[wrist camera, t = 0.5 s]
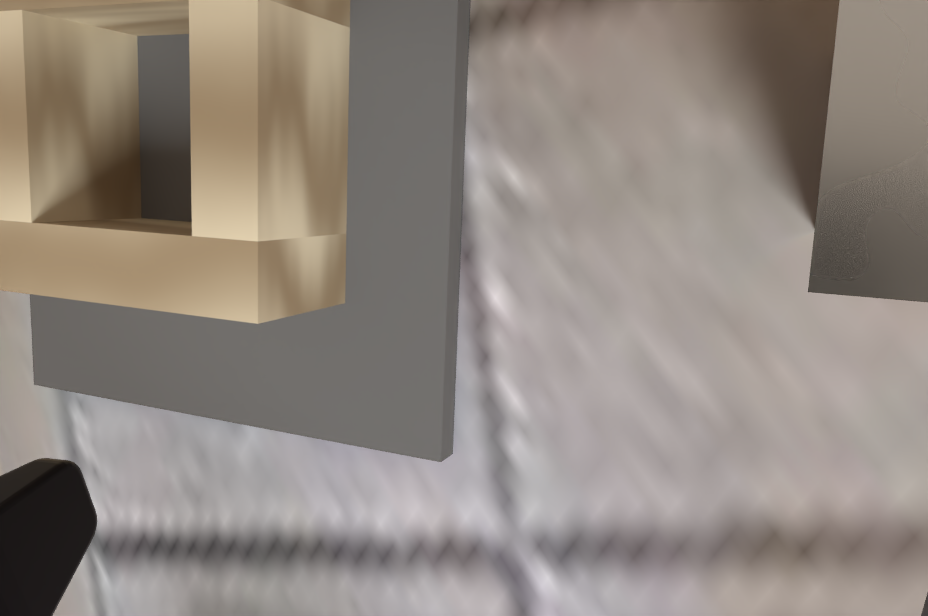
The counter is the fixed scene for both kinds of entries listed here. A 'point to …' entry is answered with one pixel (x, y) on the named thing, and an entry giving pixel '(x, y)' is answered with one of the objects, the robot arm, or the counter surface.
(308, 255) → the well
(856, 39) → the steel bar
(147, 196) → the mat
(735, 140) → the counter surface
